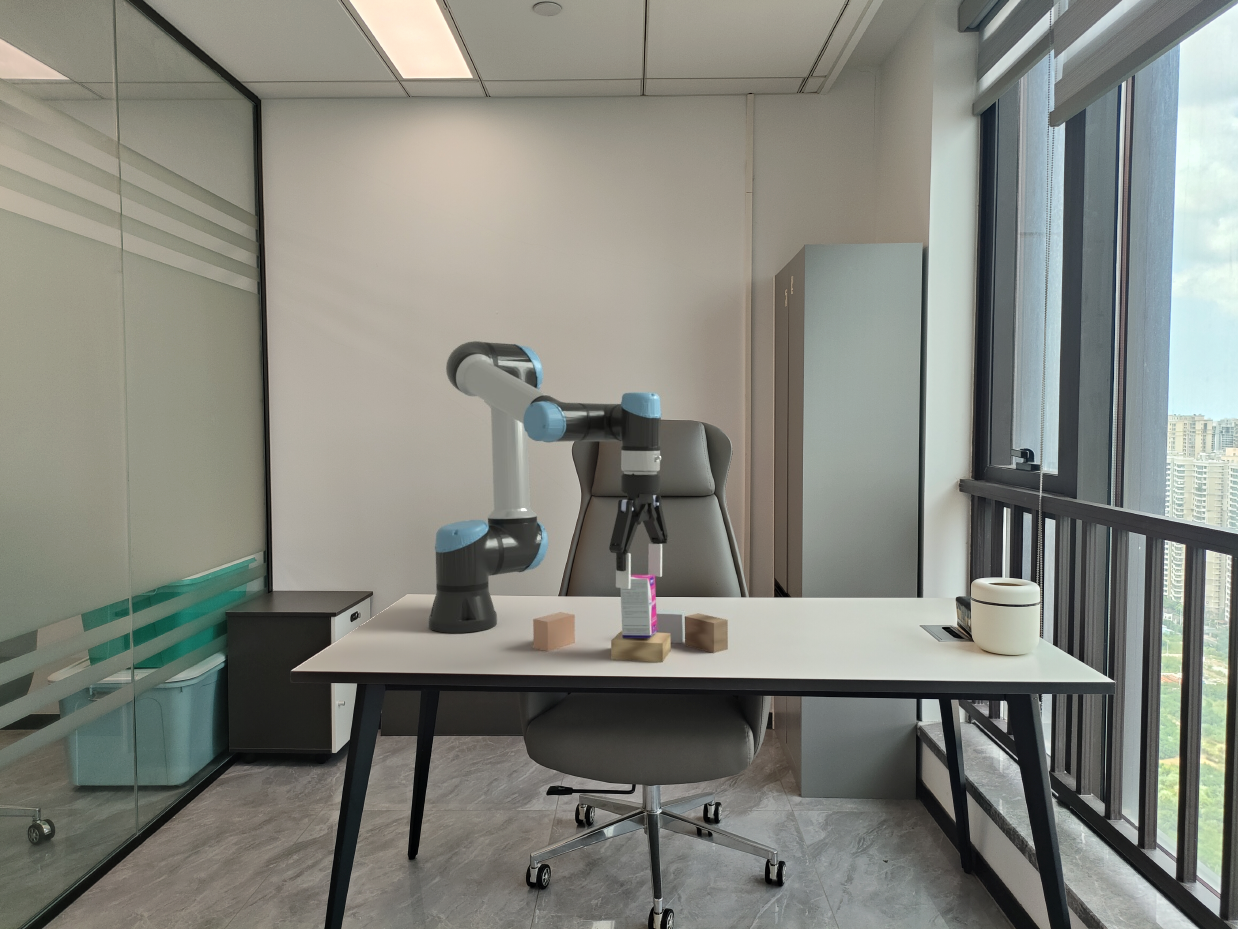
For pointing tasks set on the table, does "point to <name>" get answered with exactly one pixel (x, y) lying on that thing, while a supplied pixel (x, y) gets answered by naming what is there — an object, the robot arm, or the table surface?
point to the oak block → (641, 647)
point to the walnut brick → (706, 632)
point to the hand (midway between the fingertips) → (639, 581)
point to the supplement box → (639, 607)
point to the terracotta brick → (554, 631)
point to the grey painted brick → (671, 624)
